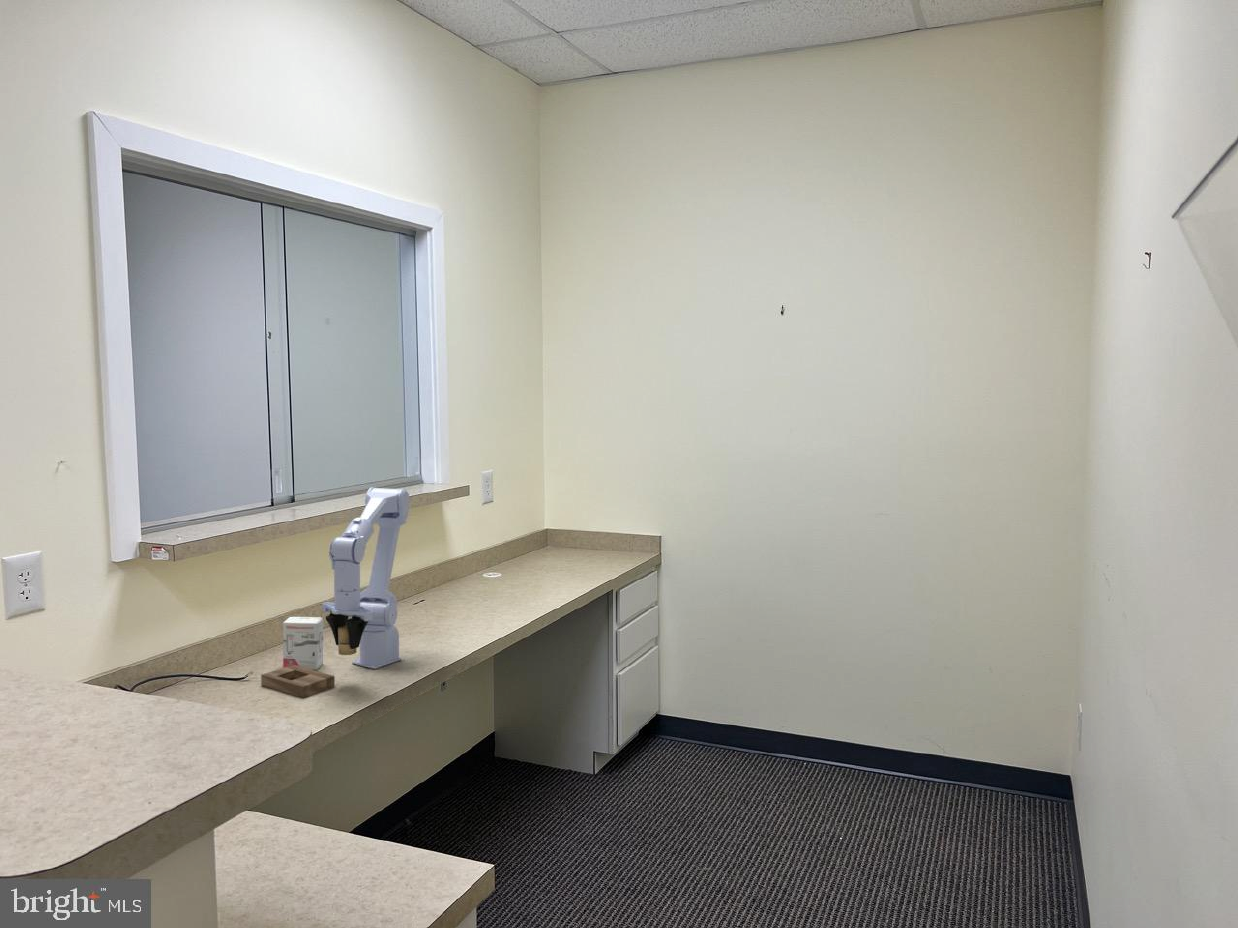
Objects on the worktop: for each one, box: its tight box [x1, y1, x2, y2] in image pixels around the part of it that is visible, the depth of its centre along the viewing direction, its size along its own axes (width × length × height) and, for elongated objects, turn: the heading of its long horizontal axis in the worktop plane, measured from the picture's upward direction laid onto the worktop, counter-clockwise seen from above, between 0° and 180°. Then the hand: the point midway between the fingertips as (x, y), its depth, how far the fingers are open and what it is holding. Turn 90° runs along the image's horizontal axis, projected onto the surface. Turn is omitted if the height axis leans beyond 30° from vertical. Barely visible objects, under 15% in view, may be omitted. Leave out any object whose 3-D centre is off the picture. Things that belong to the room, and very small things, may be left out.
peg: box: [337, 625, 357, 656], centre depth 213 cm, size 4×4×6 cm
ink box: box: [282, 616, 324, 671], centre depth 225 cm, size 9×5×12 cm, turn 91°
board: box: [260, 665, 336, 698], centre depth 212 cm, size 9×14×2 cm, turn 59°
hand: (347, 645), depth 213 cm, fingers closed on peg, 4 cm apart
